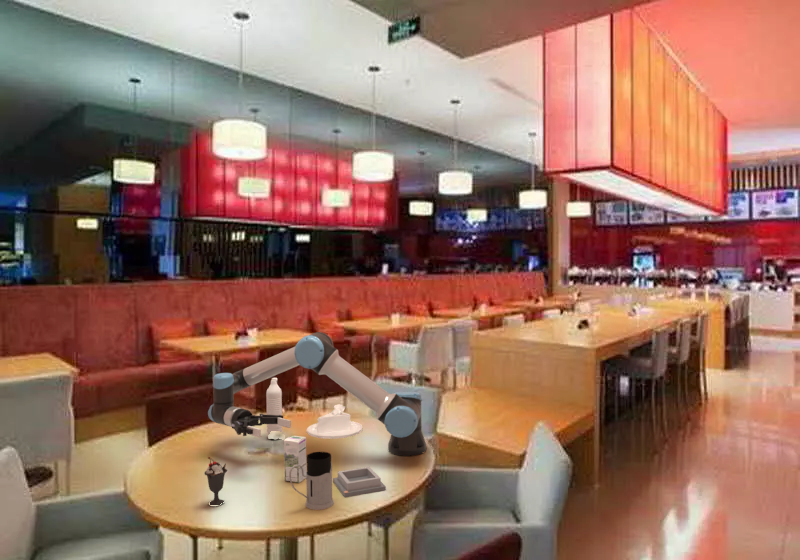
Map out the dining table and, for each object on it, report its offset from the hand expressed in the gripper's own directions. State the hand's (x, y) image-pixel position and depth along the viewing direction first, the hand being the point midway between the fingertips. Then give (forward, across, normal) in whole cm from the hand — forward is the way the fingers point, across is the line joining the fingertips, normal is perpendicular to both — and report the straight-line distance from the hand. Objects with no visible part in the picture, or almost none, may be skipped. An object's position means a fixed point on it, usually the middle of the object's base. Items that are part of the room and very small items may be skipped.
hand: (275, 428), depth 199 cm
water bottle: (-33, -27, -16) cm, 45 cm away
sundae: (+5, +28, -16) cm, 32 cm away
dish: (-20, -50, -16) cm, 56 cm away
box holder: (+32, -9, -16) cm, 36 cm away
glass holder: (+30, +11, -16) cm, 36 cm away
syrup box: (+10, 0, -16) cm, 19 cm away
